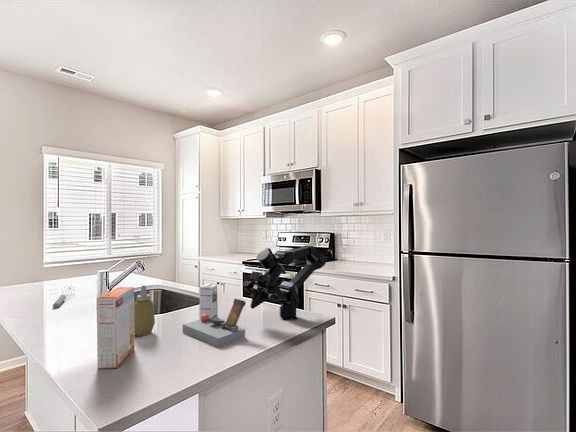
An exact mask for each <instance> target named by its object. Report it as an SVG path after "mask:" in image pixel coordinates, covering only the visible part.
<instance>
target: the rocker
mask: <svg viewBox="0 0 576 432" xmlns="http://www.w3.org/2000/svg"><path fill="white" fill-rule="evenodd" d="M208 322H210V323H213V324H221V323H224V322H226V321H225V320H222V319H220V318H215V319H208Z"/></svg>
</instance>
